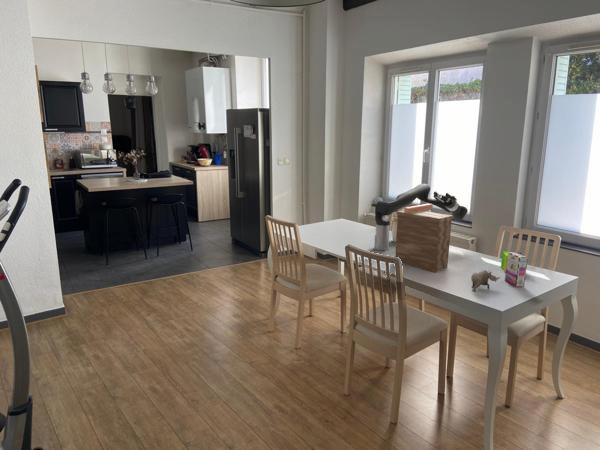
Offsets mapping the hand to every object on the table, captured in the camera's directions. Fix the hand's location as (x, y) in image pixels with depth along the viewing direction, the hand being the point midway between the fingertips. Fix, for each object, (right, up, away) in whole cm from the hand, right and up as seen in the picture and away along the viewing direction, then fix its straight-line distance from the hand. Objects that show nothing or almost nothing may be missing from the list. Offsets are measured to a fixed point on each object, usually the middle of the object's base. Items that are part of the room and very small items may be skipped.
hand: (440, 193), depth 284 cm
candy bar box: (+25, -52, -47) cm, 75 cm away
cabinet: (-17, -45, -15) cm, 50 cm away
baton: (-18, -12, -14) cm, 25 cm away
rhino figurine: (+4, -54, -54) cm, 76 cm away
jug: (-16, -33, +42) cm, 56 cm away
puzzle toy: (+35, -48, -23) cm, 64 cm away
